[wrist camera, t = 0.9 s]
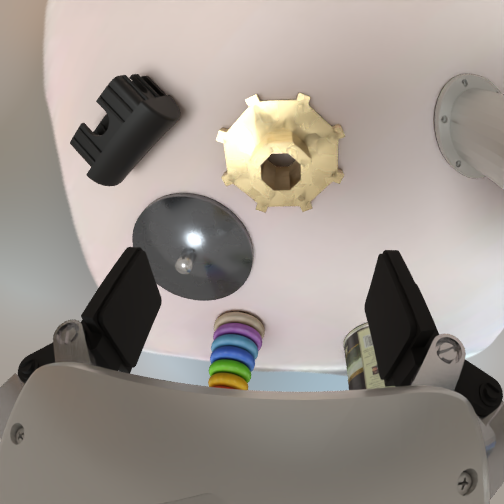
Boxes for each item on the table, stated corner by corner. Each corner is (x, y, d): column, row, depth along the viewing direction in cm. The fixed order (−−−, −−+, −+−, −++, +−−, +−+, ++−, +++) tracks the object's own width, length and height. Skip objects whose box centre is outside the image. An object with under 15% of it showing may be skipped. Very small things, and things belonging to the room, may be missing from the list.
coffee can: (360, 361, 47) (368, 428, 35) (332, 339, 43) (337, 416, 32) (407, 337, 42) (424, 406, 30) (385, 310, 38) (405, 391, 27)
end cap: (134, 172, 29) (104, 196, 24) (98, 133, 27) (62, 150, 21) (191, 113, 25) (165, 125, 20) (149, 70, 22) (114, 72, 17)
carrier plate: (246, 188, 29) (241, 203, 26) (257, 295, 39) (255, 315, 36) (122, 199, 32) (107, 212, 29) (155, 292, 41) (147, 309, 38)
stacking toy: (221, 302, 40) (191, 421, 25) (272, 317, 41) (260, 436, 26) (211, 331, 45) (185, 434, 30) (255, 344, 46) (241, 447, 31)
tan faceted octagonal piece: (341, 93, 22) (358, 97, 17) (339, 205, 29) (350, 237, 24) (214, 98, 24) (194, 104, 19) (229, 207, 31) (216, 238, 26)
